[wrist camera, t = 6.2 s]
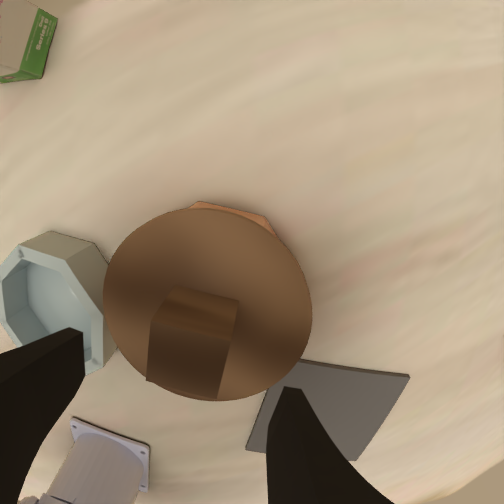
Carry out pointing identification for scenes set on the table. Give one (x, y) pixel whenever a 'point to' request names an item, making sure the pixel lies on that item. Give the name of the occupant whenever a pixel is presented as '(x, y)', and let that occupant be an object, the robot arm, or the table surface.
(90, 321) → the bowl slate
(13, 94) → the table surface
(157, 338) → the lid
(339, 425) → the mat
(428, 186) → the table surface
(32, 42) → the ink box
